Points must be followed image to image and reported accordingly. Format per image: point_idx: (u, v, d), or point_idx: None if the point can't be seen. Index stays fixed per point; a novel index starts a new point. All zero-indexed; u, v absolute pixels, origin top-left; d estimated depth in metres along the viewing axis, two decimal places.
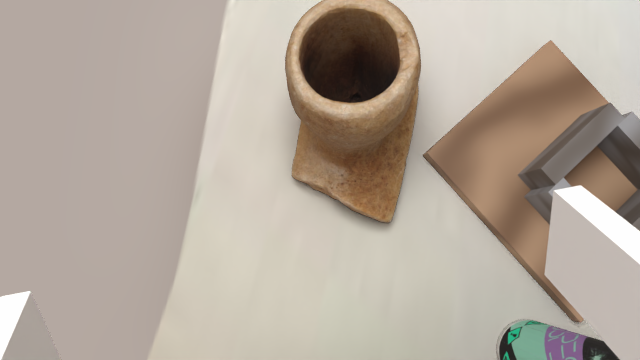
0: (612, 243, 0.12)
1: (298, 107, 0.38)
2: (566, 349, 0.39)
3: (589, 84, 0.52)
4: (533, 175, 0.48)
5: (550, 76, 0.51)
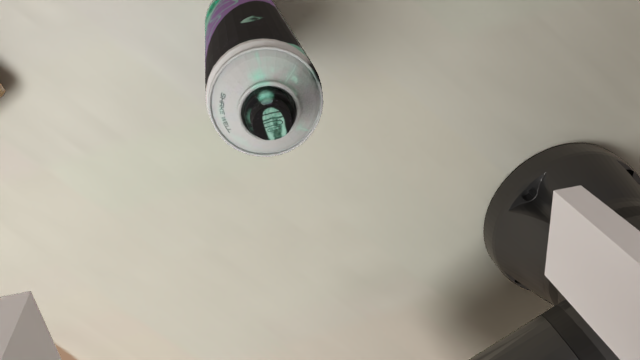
0: (612, 243, 0.12)
1: None
2: None
3: None
4: None
5: None
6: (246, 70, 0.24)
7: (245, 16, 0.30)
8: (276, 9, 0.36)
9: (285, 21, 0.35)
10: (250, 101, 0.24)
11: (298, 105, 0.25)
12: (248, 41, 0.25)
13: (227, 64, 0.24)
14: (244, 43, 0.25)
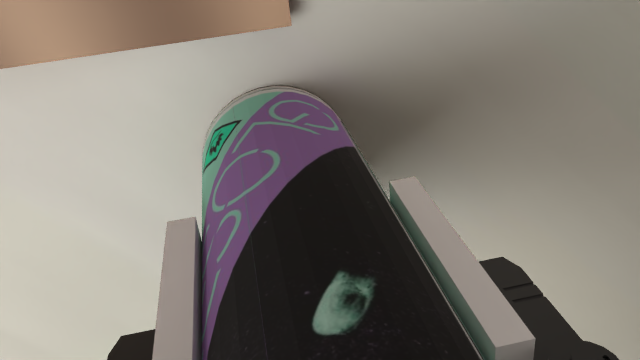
0: (417, 227, 0.14)
1: None
2: None
3: None
4: None
5: None
6: None
7: (319, 274, 0.10)
8: (362, 162, 0.16)
9: (390, 203, 0.15)
10: None
11: None
12: None
13: None
14: None
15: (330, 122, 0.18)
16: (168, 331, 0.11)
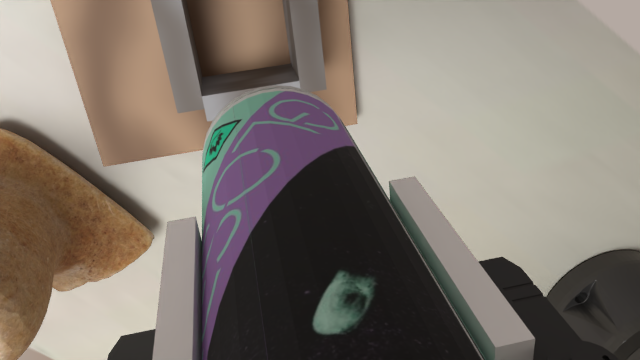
0: (417, 227, 0.14)
1: None
2: None
3: None
4: None
5: None
6: None
7: (320, 273, 0.10)
8: (362, 161, 0.16)
9: (390, 202, 0.15)
10: None
11: None
12: None
13: None
14: None
15: (330, 122, 0.18)
16: (168, 331, 0.11)
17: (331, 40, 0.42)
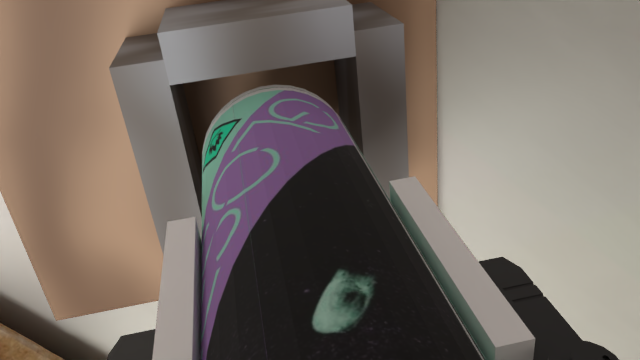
0: (417, 227, 0.14)
1: None
2: None
3: None
4: None
5: (8, 45, 0.22)
6: None
7: (319, 272, 0.10)
8: (362, 160, 0.16)
9: (390, 201, 0.15)
10: None
11: None
12: None
13: None
14: None
15: (330, 121, 0.18)
16: (168, 331, 0.11)
17: (408, 131, 0.27)
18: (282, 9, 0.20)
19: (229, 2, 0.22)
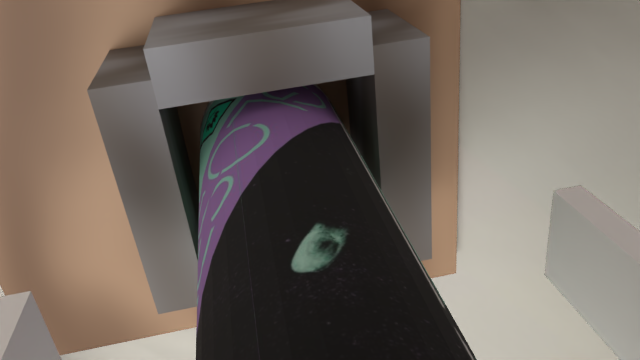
0: (612, 243, 0.12)
1: None
2: None
3: None
4: None
5: None
6: None
7: (299, 225, 0.11)
8: (346, 136, 0.17)
9: (370, 172, 0.16)
10: None
11: None
12: None
13: None
14: None
15: (318, 101, 0.19)
16: None
17: None
18: (289, 20, 0.17)
19: (227, 10, 0.19)
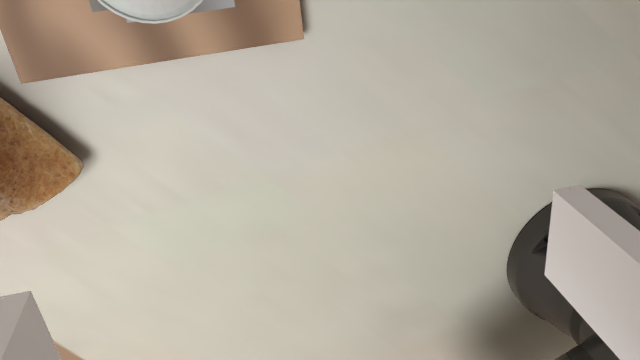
0: (612, 243, 0.12)
1: None
2: None
3: None
4: None
5: None
6: None
7: None
8: None
9: None
10: None
11: None
12: None
13: None
14: None
15: None
16: None
17: None
18: None
19: None
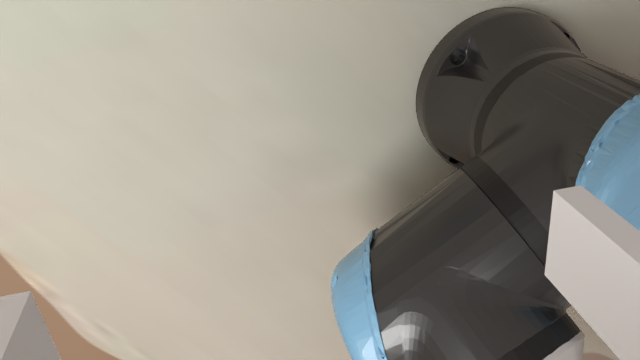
0: (612, 243, 0.12)
1: None
2: None
3: None
4: None
5: None
6: None
7: None
8: None
9: None
10: None
11: None
12: None
13: None
14: None
15: None
16: None
17: None
18: None
19: None
